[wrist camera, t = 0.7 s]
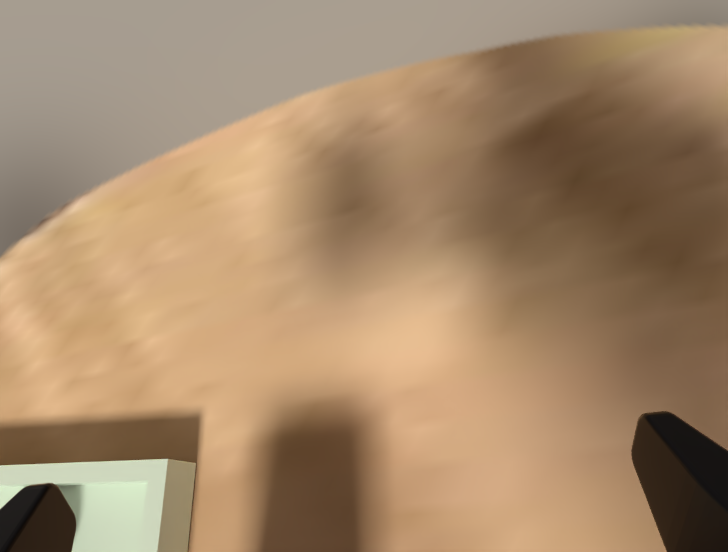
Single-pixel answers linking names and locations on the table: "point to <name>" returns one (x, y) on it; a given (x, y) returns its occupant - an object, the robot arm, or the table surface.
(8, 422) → the table surface
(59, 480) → the tray
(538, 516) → the table surface
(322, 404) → the table surface
